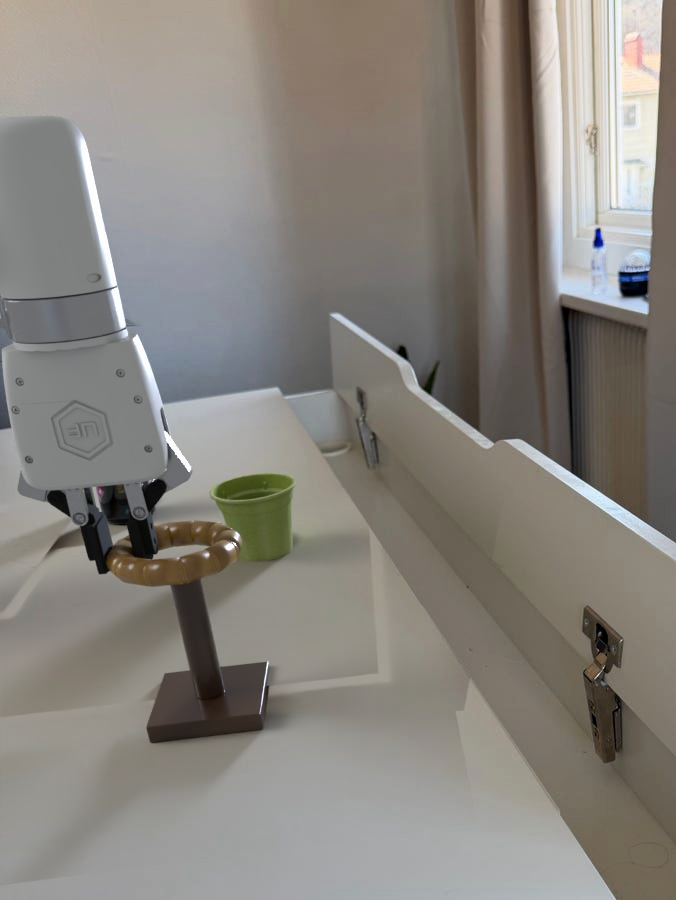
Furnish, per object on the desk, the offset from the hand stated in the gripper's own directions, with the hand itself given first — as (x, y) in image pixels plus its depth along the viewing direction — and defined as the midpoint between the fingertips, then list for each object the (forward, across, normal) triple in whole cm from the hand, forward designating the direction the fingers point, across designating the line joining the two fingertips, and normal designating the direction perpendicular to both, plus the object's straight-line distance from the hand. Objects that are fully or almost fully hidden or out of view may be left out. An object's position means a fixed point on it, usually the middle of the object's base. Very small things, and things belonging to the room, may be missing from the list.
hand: (126, 563), depth 76 cm
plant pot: (+14, +6, +33) cm, 36 cm away
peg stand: (+14, +4, 0) cm, 14 cm away
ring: (-1, +4, 0) cm, 4 cm away
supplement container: (+14, -13, +53) cm, 56 cm away
